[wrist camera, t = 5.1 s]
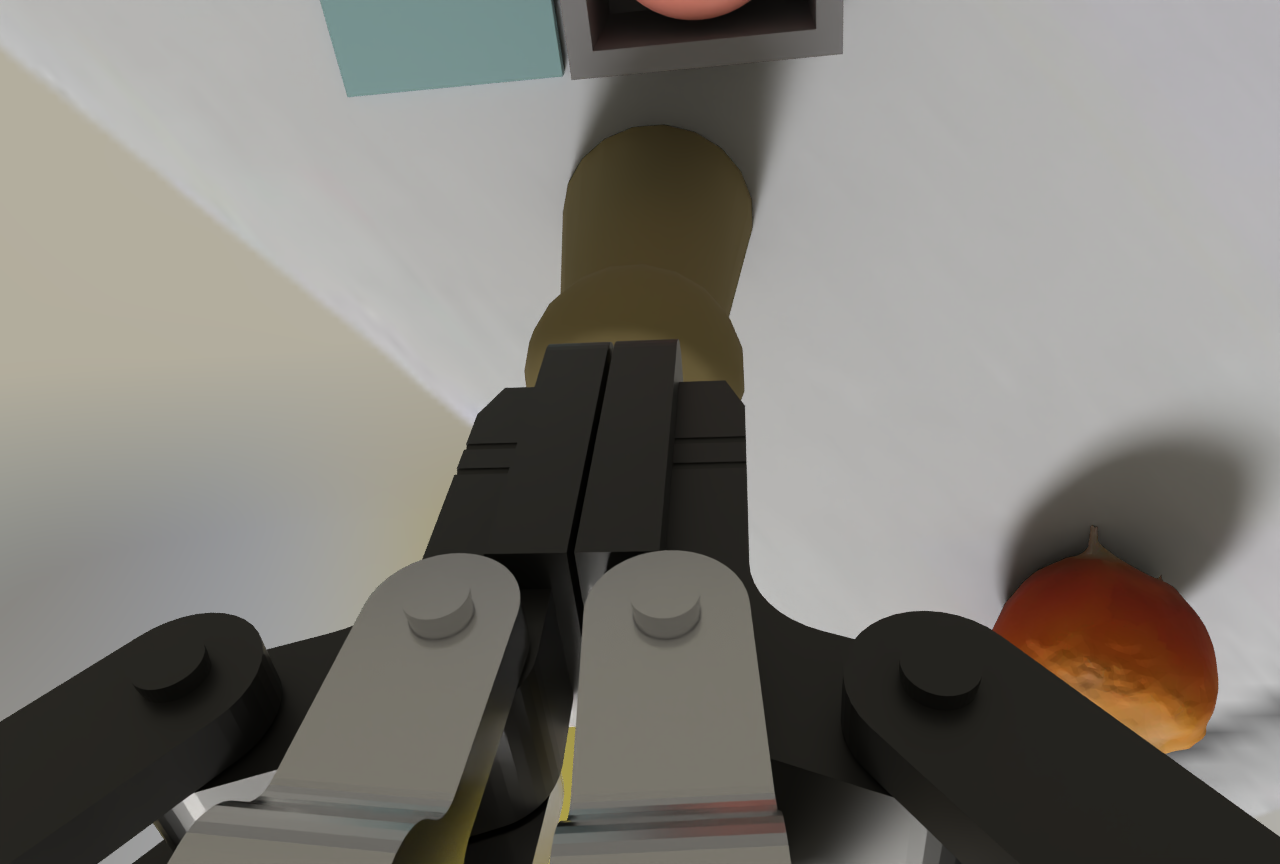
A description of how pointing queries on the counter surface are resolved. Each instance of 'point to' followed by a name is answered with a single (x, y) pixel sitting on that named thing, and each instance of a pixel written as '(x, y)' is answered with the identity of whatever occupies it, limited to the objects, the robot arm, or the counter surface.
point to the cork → (652, 251)
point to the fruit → (1119, 643)
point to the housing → (695, 36)
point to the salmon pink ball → (693, 8)
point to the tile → (441, 43)
